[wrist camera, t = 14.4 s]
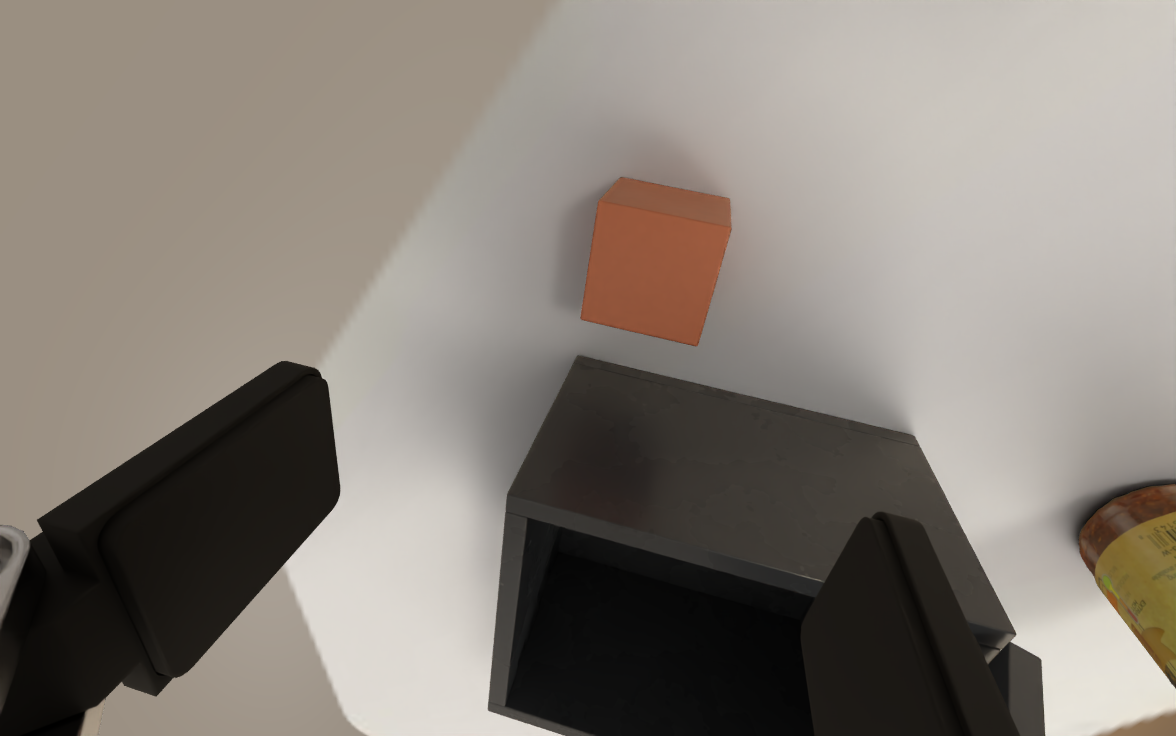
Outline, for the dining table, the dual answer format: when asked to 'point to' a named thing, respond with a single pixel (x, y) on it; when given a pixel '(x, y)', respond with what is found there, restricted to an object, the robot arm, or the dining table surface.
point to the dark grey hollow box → (693, 555)
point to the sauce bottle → (1138, 566)
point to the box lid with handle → (1021, 687)
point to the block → (655, 259)
